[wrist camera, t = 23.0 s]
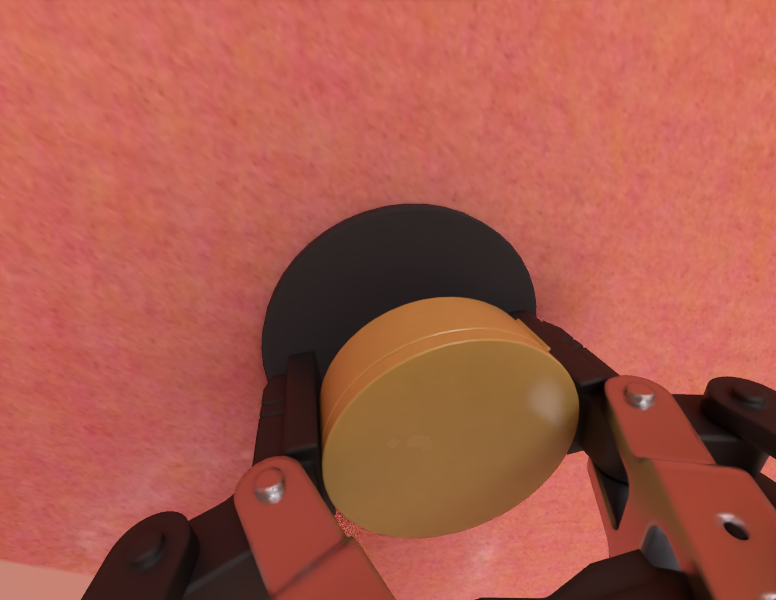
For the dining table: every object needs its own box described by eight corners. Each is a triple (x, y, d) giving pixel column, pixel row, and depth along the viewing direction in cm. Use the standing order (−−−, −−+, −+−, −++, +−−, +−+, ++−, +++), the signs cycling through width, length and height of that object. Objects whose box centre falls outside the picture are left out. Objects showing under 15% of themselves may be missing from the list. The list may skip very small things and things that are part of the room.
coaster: (402, 469, 15) (406, 482, 15) (201, 363, 11) (196, 375, 11) (572, 318, 13) (583, 326, 13) (405, 130, 9) (411, 131, 9)
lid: (442, 242, 8) (479, 276, 6) (573, 373, 10) (624, 422, 9) (269, 419, 9) (260, 488, 7) (425, 498, 11) (445, 563, 10)
